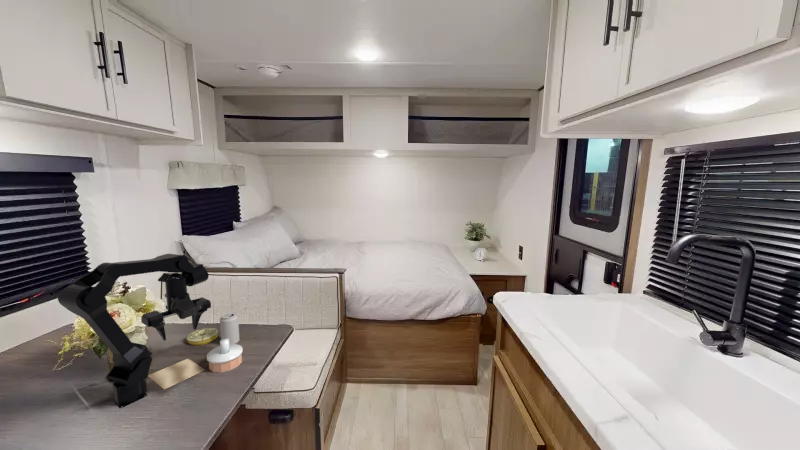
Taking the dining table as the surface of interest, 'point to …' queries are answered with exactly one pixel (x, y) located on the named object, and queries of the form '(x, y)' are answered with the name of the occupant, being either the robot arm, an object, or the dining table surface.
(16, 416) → the dining table surface
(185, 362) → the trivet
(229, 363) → the bowl
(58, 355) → the dining table surface
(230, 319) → the beverage can
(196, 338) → the decorated donut
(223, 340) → the lid
